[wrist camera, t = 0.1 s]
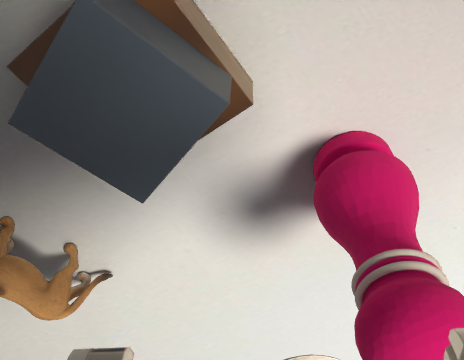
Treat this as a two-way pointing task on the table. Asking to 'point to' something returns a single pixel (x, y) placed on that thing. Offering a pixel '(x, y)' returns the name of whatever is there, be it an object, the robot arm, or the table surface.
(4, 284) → the lion figurine
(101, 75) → the top block
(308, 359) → the cup
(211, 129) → the base block
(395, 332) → the pepper mill
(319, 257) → the table surface
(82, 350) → the robot arm
